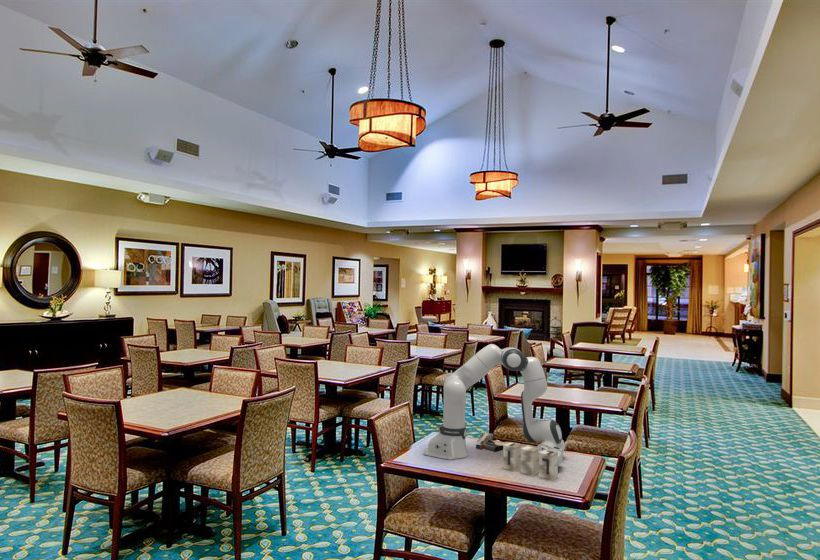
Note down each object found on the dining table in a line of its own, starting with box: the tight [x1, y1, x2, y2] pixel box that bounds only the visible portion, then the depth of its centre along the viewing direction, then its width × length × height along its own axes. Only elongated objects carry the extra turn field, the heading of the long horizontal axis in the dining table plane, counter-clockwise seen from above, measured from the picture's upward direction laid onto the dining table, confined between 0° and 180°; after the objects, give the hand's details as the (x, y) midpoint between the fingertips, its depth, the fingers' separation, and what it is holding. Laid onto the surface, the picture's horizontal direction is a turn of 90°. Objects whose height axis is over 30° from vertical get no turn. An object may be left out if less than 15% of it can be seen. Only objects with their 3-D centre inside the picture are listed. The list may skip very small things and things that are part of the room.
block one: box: [502, 441, 522, 472], centre depth 241 cm, size 6×6×11 cm
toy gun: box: [475, 432, 504, 453], centre depth 281 cm, size 3×29×15 cm
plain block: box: [520, 445, 539, 477], centre depth 235 cm, size 6×6×11 cm
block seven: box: [538, 450, 559, 482], centre depth 229 cm, size 6×6×11 cm
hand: (532, 459), depth 237 cm, fingers closed, pressing on plain block
